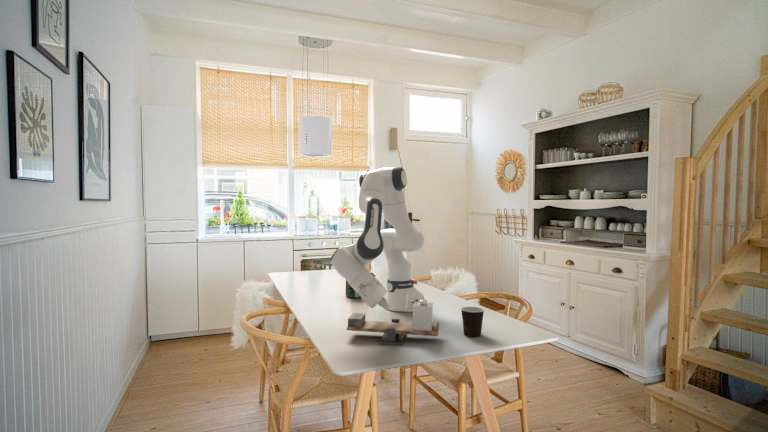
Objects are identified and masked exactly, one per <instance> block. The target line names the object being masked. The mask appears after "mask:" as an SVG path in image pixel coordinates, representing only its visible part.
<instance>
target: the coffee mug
mask: <svg viewBox="0 0 768 432" xmlns="http://www.w3.org/2000/svg"><path fill="white" fill-rule="evenodd" d="M484 312H485V309H483V308H482V307H479V306H478V307H477V306H463V307H461V318H462V329H463V335H464V337H468V338H479V337H481V335H482V328H483V319H484Z"/></svg>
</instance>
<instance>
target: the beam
mask: <svg viewBox="0 0 768 432" xmlns="http://www.w3.org/2000/svg"><path fill="white" fill-rule="evenodd" d="M412 326H413V323H409V322H400V323H396V322H392V321H377V320H366V313H360V312H359V313H358V312H357V313H356V312H352V313H351V314H350V315H349V317H348V318H347V326H346V331H351V332H352V331H354V332H366V333H381V334H384V333H387V328H395V334H405V335H412V336H413V335H414V336H427V337H439V331H440V320H436V324H433V325H432V332H430V331H415V330H412Z"/></svg>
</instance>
